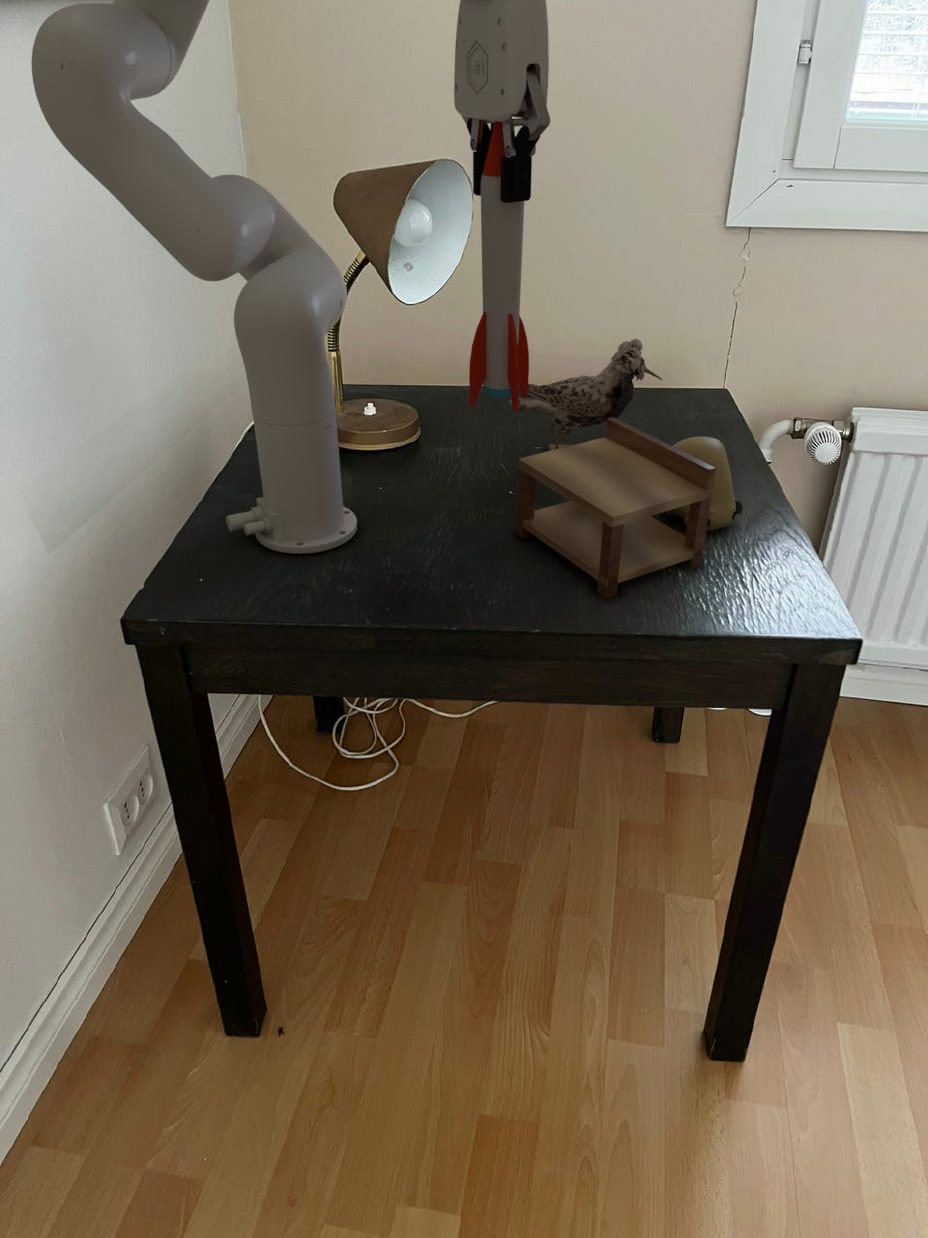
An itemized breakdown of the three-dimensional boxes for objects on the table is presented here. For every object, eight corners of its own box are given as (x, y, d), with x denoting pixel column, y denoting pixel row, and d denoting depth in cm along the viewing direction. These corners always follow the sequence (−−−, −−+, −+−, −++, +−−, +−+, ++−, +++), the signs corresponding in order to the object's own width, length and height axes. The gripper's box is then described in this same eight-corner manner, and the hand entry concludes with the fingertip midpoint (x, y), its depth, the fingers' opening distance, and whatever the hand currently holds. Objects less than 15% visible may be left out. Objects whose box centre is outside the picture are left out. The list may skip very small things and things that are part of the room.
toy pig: (661, 549, 122) (703, 526, 112) (632, 462, 123) (671, 431, 113) (725, 533, 125) (771, 509, 115) (696, 448, 126) (740, 416, 116)
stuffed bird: (657, 466, 135) (671, 346, 126) (524, 483, 130) (528, 359, 121) (628, 440, 143) (639, 325, 134) (501, 455, 138) (504, 337, 129)
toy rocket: (517, 413, 103) (526, 99, 87) (468, 408, 104) (468, 97, 88) (530, 396, 107) (541, 94, 91) (483, 391, 109) (485, 93, 93)
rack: (605, 598, 105) (614, 496, 98) (515, 533, 118) (518, 439, 111) (701, 566, 111) (716, 467, 104) (605, 507, 124) (613, 416, 117)
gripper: (421, -22, 89) (427, 189, 99) (521, -28, 77) (516, 214, 87) (489, -22, 92) (488, 183, 102) (595, -28, 80) (582, 206, 90)
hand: (501, 195), depth 94 cm, fingers closed on toy rocket, 4 cm apart
